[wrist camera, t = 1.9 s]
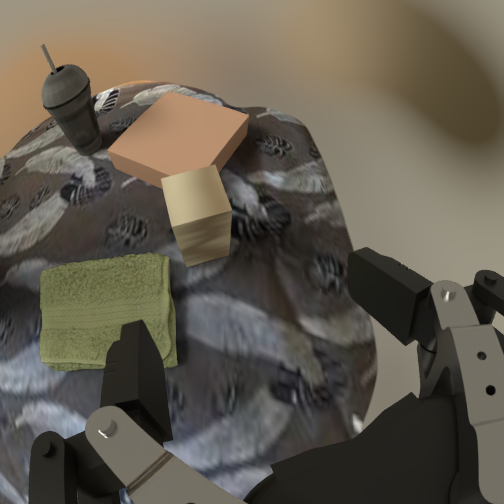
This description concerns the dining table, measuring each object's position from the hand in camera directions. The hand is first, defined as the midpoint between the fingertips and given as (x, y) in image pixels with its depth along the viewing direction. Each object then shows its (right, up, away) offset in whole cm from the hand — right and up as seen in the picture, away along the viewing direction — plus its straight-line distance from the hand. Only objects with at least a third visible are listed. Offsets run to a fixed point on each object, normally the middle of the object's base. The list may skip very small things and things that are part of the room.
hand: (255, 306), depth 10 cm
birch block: (-6, +3, +22) cm, 23 cm away
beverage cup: (-26, +19, +26) cm, 41 cm away
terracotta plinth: (-10, +17, +27) cm, 33 cm away
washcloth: (-17, -5, +18) cm, 25 cm away
